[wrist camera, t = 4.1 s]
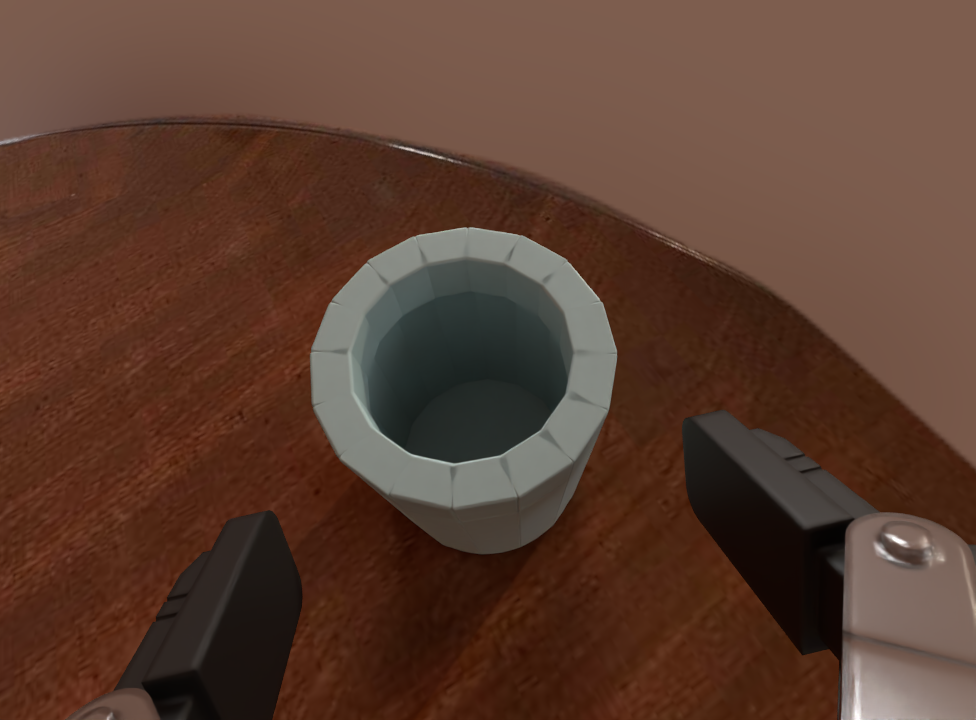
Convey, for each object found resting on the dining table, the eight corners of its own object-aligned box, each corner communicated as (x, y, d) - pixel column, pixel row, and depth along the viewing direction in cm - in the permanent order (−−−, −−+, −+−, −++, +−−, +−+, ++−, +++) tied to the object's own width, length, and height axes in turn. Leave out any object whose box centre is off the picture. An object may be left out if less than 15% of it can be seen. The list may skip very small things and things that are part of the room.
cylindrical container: (590, 393, 21) (633, 251, 13) (559, 574, 18) (589, 542, 10) (424, 361, 22) (364, 209, 14) (373, 529, 19) (262, 467, 11)
